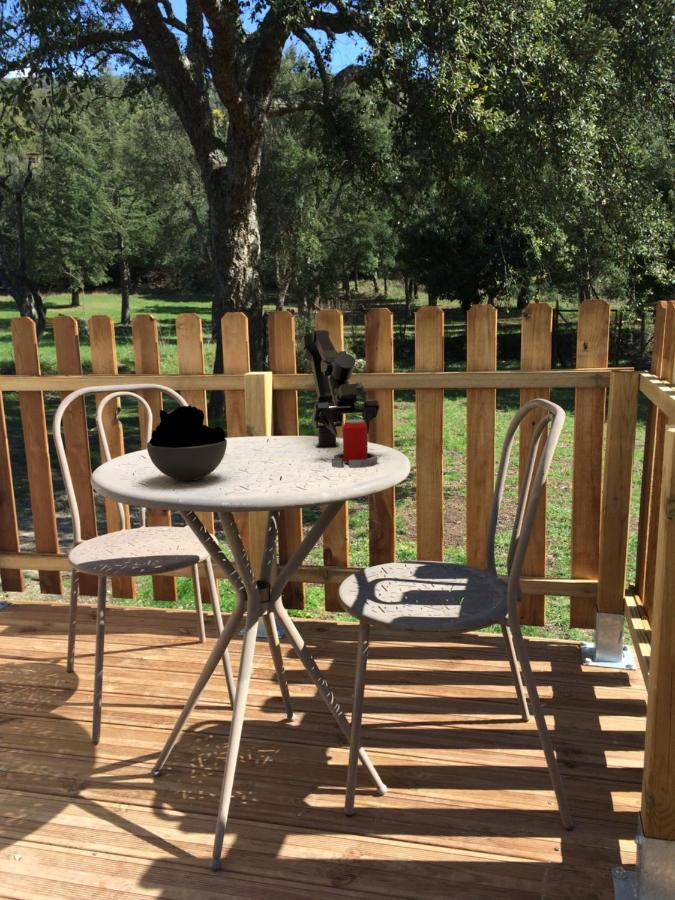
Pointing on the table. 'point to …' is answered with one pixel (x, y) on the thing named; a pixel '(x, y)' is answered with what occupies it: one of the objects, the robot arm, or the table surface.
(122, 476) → the table surface
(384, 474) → the table surface
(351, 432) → the beverage can
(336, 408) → the robot arm
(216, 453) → the coal bowl
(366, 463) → the ring collar
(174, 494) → the table surface
